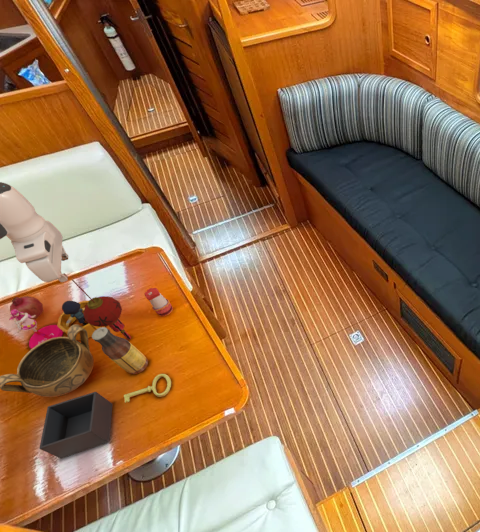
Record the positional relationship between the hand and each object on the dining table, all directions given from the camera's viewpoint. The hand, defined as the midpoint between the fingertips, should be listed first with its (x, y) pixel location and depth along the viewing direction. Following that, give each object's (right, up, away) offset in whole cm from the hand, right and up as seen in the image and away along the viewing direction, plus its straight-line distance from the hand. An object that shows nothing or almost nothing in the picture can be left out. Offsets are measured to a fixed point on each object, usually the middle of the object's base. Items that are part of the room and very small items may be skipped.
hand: (65, 269), depth 117 cm
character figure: (-5, -19, +15) cm, 25 cm away
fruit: (-25, -16, +17) cm, 34 cm away
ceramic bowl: (0, -33, +3) cm, 33 cm away
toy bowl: (-5, -19, +15) cm, 24 cm away
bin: (+13, -45, -8) cm, 47 cm away
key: (+26, -36, 0) cm, 44 cm away
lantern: (+11, -23, +12) cm, 28 cm away
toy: (+19, -15, +19) cm, 31 cm away
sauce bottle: (+18, -30, +5) cm, 36 cm away
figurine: (-16, -23, +12) cm, 30 cm away
